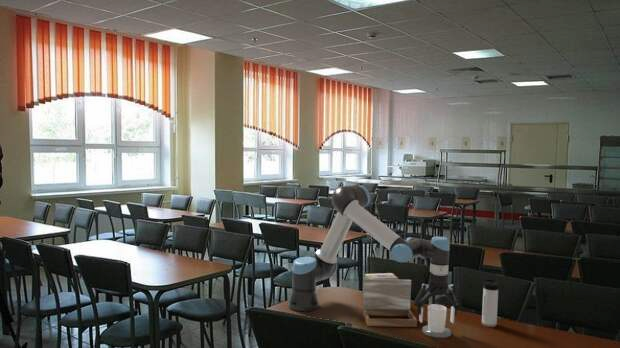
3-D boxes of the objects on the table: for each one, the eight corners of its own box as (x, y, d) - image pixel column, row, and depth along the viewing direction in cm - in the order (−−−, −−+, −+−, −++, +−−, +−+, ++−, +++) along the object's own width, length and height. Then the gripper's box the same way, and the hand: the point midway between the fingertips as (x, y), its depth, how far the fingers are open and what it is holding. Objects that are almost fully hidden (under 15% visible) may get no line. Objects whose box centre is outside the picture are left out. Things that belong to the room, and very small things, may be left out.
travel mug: (496, 322, 213) (498, 279, 212) (496, 328, 207) (499, 283, 206) (481, 320, 215) (483, 278, 214) (481, 325, 209) (483, 282, 208)
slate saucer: (419, 326, 206) (419, 324, 206) (445, 327, 207) (446, 324, 207) (426, 337, 195) (426, 335, 194) (455, 338, 195) (455, 336, 195)
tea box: (391, 300, 241) (392, 272, 240) (398, 307, 231) (399, 278, 230) (363, 301, 239) (364, 272, 238) (368, 308, 229) (369, 278, 228)
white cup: (446, 334, 196) (447, 311, 195) (427, 332, 198) (428, 309, 197) (444, 327, 204) (445, 305, 203) (426, 325, 205) (427, 303, 205)
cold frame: (362, 313, 221) (363, 278, 220) (408, 314, 221) (410, 279, 220) (367, 325, 206) (368, 288, 205) (416, 326, 206) (418, 289, 205)
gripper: (412, 275, 195) (409, 324, 196) (471, 276, 196) (468, 325, 197) (407, 270, 202) (405, 317, 204) (464, 271, 203) (462, 319, 205)
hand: (436, 321), depth 201 cm, fingers open, 13 cm apart
